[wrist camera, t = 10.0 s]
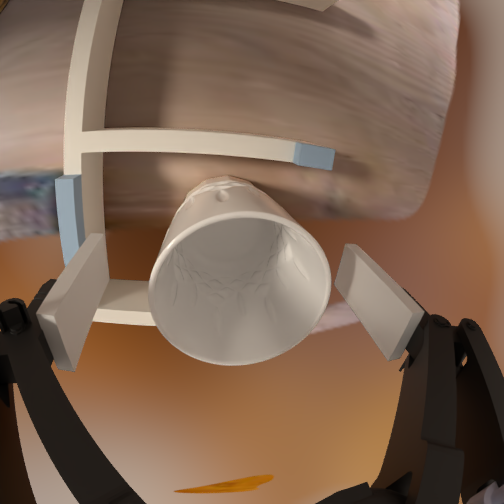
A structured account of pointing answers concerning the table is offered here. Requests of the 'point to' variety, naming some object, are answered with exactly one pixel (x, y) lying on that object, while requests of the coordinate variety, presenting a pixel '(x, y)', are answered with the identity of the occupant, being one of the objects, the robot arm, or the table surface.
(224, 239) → the white cup
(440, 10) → the table surface
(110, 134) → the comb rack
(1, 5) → the wooden mug
